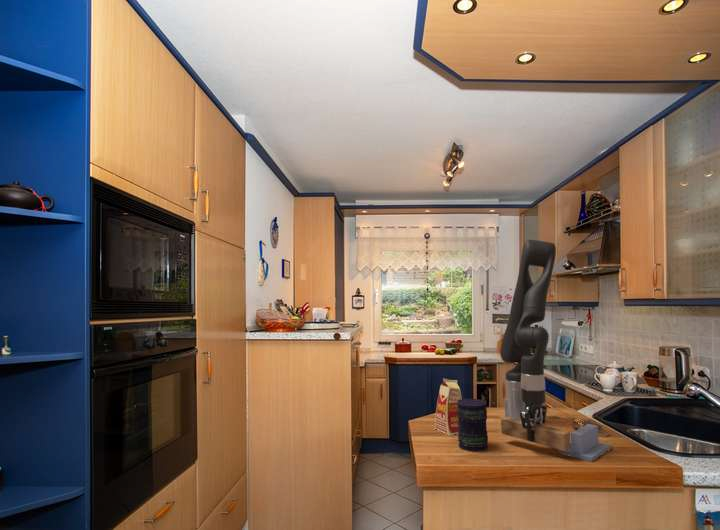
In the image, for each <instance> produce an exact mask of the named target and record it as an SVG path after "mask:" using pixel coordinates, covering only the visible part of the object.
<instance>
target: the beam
mask: <svg viewBox="0 0 720 530" xmlns="http://www.w3.org/2000/svg"><path fill="white" fill-rule="evenodd" d="M530 423H531V422H530ZM531 424H532V423H531ZM525 425H526V423H525ZM500 427H501V431H500V432H501V434H502V435H505V436H509V437H513V438H515V439H518V440H519V439H520V440H524V441H526V442H527V441H528V440H527V429H525V428H523V427H522V422H521V420H519V419H515V418H511V417H505V416H504V417H503V418H501V419H500ZM534 437H535V441H534V442H533V443H535V444H537V445H541V446H544V447H548V448H552V449H556V450H558V451H559V450H562V451H566V450H568V449H570V448H571V431H569V430H564V429H559V428H555V427H551V426H548V425H544V424H543V425H540V424H536V423H535V426H534ZM528 442H530V443H532V442H531V441H528Z"/></svg>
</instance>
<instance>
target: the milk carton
mask: <svg viewBox="0 0 720 530" xmlns="http://www.w3.org/2000/svg"><path fill="white" fill-rule="evenodd" d="M442 380H443V381H442V383H441V384H440V387H439V392H438V397H437V401H436V402H437V403H436V407H435V408H436V410H435V418H434V430H435V429H437V430H439V431H441V432H443V433H446V434H448V435H453V434H457V435H458V429H459V419H458V416H457V415H458V413H457V409H458V408H457V406H458V404H457V401H458V400H461V399H463V397H462V392H461V388H460V386H459V385H458V380H457V379H455V380H454V379H448V378H444V377H443V378H442ZM437 430H436V431H437ZM439 431H438V432H439ZM441 432H440V433H441ZM443 433H442V434H443ZM453 436H454V435H453Z"/></svg>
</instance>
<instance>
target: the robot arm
mask: <svg viewBox="0 0 720 530" xmlns="http://www.w3.org/2000/svg"><path fill="white" fill-rule="evenodd" d="M556 254H557V247H556V244H555V243H553V242H551V241H542V240H536V239H527V240H525V242H524V244H523V245H522V249H521V255H520V263H519V269H518V275H517V276H518V277H517V280H516V285H515V289H514V292H513V296H512V301H511V305H510V309H509V310H510V311H509V312H510V313H509V317H508V321H507V324H506V328H505V331H504V333H503V334H504V335H503V336H502V337H503V338H502V341H501V344H500V348H499V352H500V353H499V354H500V358H501V360H502V361H503V362H504V363H507V364H513V363H514V364H516V365H515V366H514V367H513V368H511V369H510V370H507V371H506V372H505V389H506V390H505V391H506V392H505V393H506V398H504V418H505V417H511V418H515V419H519V420H521V422H522V427H523V428H525V429H527V440H528V442H530V441H531V442H530V443H534V441H535V437H534V426H535V423H536V424H540V425H544V424H546V420H547V419H546V418H547V411H548V406H547V405H543V404H545V403H546V380H545V378H546V377H545V368H544V367H545V366H544V365H545V364H544V363H545V362H544V361H545V353H546V350H547V347H548V344H549V340H550V337H549V332H548V330H547V329H546V328H544V327H541V326H532V325H533V324H538V323H541V322H543V321H544V320H545V317H546V307H547V298H548V291H549V289H550V288H549V287H550V284H551V279H552V275H553V272H554V266H555V261H556V257H557V256H556ZM530 266H533V267H540V268H543V269H542V272H541V275H540V276H539V278H538V279H537V280H536V281H535V282H534V283H533V280H532V278H531V274H530V271H529V267H530ZM532 349H535V352H534V353H532ZM530 422H531V423H532V424H531V423H530ZM525 423H526V425H525Z"/></svg>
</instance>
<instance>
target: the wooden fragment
mask: <svg viewBox="0 0 720 530" xmlns="http://www.w3.org/2000/svg"><path fill="white" fill-rule="evenodd" d="M582 420H583V421H584V422H583V421H581V420H580V422H582V424H584V425H583V426H585V425H587V424H591V425H597V426H598V437H604V438H606V436H607V437H609V436H612V434H611V433H609V432H607V431H605V429H602V428H603V426H602V425H601V424H598V423H596V422H594V421H591V420H588V419H587V420H586V419H582ZM578 422H579V421H578ZM578 422H576V421H574V420H573V429H576V428H577V429H576V430H578V429H579V428H580V427H581V426H580V425H579V424H578ZM580 422H579V423H580ZM583 426H582V427H583Z"/></svg>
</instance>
